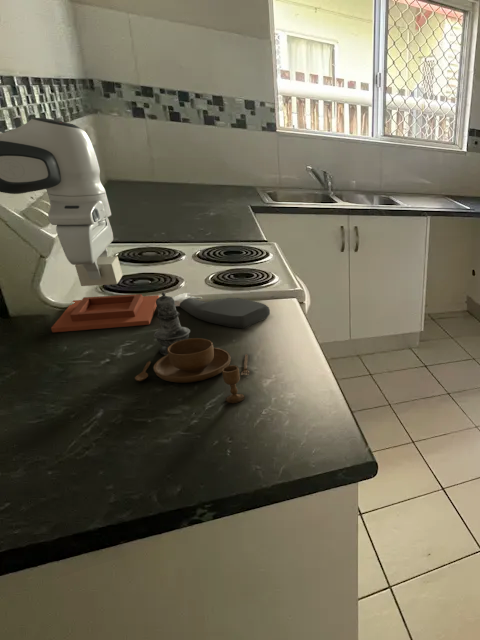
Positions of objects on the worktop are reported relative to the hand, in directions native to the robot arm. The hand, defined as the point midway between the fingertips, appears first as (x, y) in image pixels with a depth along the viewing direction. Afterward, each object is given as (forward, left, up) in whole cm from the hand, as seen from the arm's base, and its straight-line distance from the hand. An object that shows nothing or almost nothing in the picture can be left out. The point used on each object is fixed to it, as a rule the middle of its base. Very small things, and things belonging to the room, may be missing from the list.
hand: (100, 273), depth 101 cm
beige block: (0, 0, -2) cm, 2 cm away
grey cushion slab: (+20, -4, -10) cm, 23 cm away
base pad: (0, 0, -10) cm, 10 cm away
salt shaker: (+14, -22, -10) cm, 28 cm away
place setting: (+18, -36, -10) cm, 41 cm away
